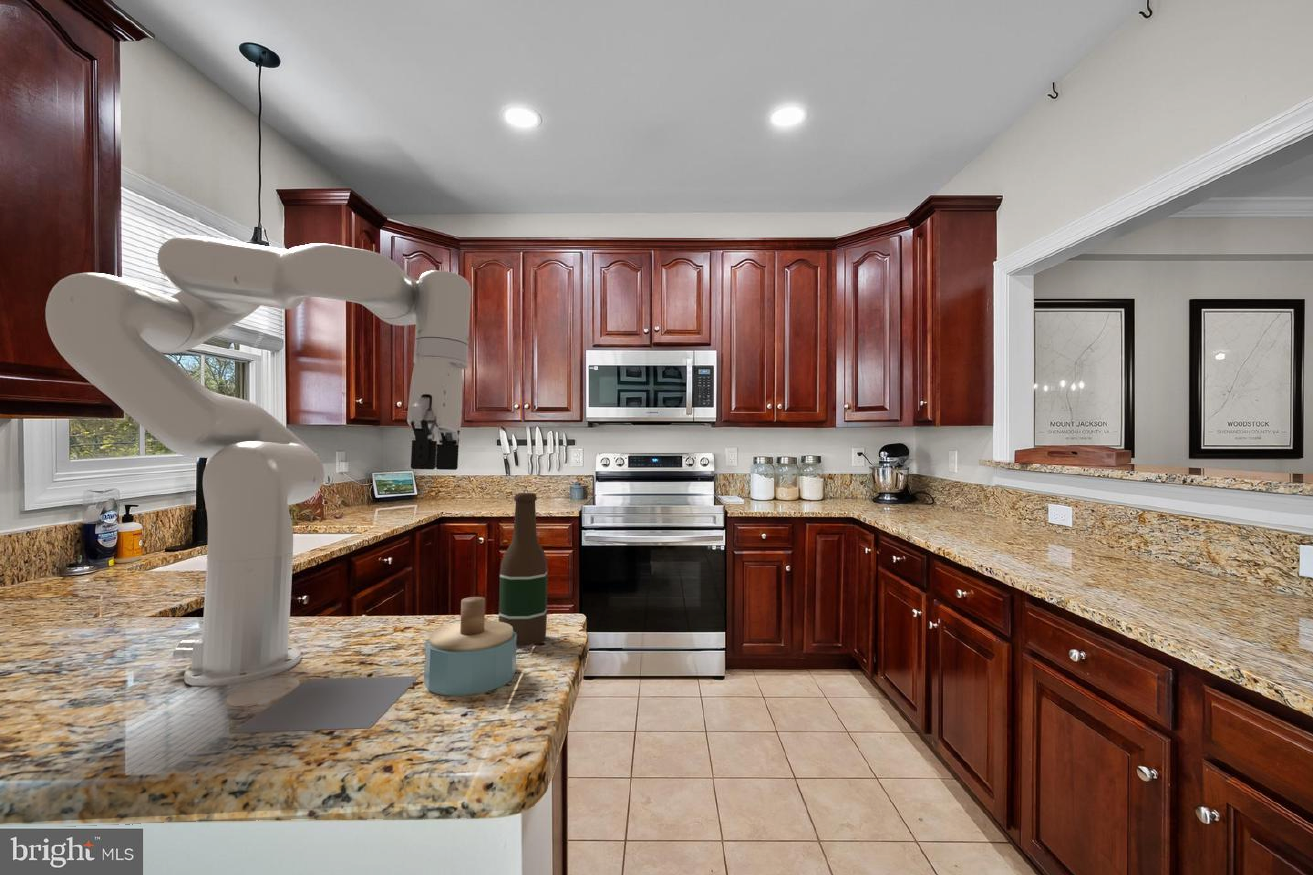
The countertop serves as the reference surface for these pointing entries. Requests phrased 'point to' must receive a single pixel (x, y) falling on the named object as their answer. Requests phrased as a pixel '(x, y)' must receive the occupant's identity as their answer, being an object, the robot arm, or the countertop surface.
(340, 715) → the mat
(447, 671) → the bowl
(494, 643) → the lid
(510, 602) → the beer bottle
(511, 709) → the countertop surface
